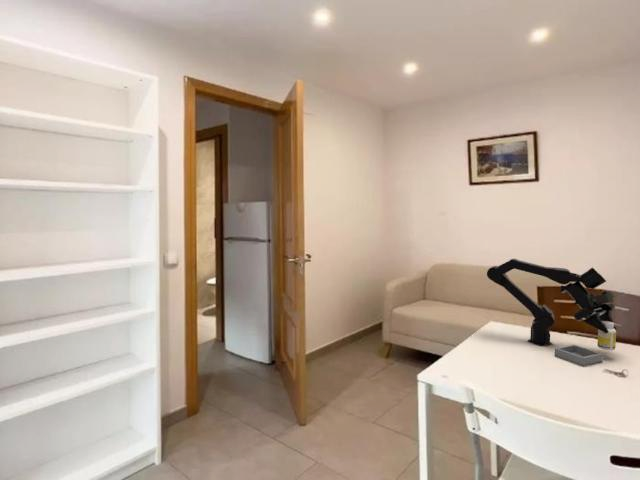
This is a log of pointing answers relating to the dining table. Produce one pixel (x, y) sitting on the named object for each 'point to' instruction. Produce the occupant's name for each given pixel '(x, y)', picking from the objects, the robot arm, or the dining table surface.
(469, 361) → the dining table surface
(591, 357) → the tray
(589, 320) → the robot arm
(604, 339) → the supplement bottle
